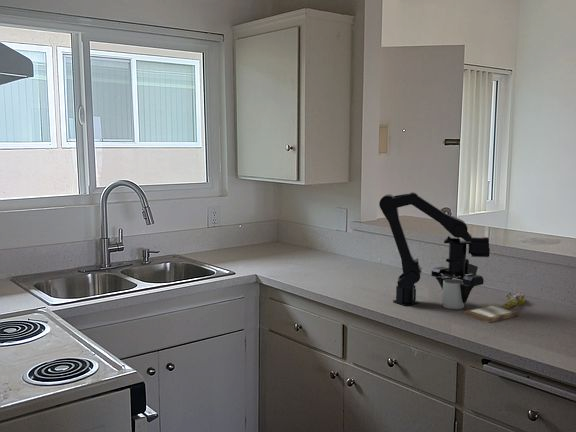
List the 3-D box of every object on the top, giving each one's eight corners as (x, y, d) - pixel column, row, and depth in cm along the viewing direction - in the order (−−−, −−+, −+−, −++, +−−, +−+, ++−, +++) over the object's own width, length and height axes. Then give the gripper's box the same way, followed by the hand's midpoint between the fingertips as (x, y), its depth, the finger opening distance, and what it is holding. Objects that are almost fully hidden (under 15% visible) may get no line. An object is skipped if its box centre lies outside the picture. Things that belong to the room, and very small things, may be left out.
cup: (439, 307, 197) (440, 282, 196) (448, 300, 206) (449, 276, 204) (460, 310, 193) (461, 285, 192) (468, 304, 202) (469, 279, 200)
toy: (497, 302, 197) (508, 290, 210) (507, 315, 196) (517, 302, 209) (510, 295, 195) (520, 283, 207) (520, 308, 194) (529, 296, 206)
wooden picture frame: (489, 322, 181) (489, 318, 181) (464, 314, 189) (464, 310, 189) (517, 315, 188) (517, 311, 188) (492, 308, 197) (492, 304, 196)
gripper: (495, 258, 193) (493, 303, 195) (453, 249, 209) (451, 291, 211) (472, 261, 187) (471, 308, 189) (431, 252, 203) (429, 295, 205)
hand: (455, 300), depth 199 cm, fingers closed on cup, 7 cm apart
